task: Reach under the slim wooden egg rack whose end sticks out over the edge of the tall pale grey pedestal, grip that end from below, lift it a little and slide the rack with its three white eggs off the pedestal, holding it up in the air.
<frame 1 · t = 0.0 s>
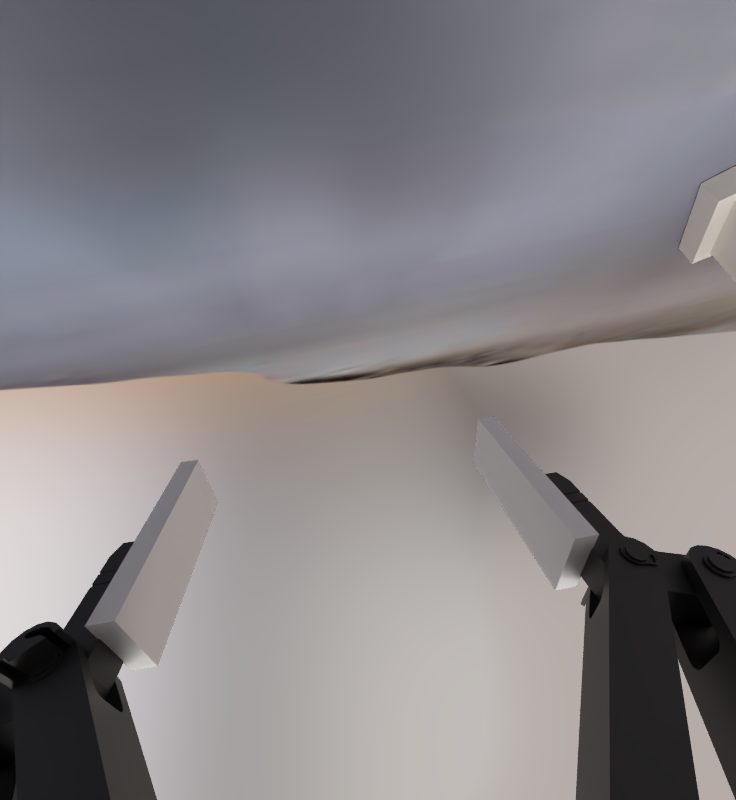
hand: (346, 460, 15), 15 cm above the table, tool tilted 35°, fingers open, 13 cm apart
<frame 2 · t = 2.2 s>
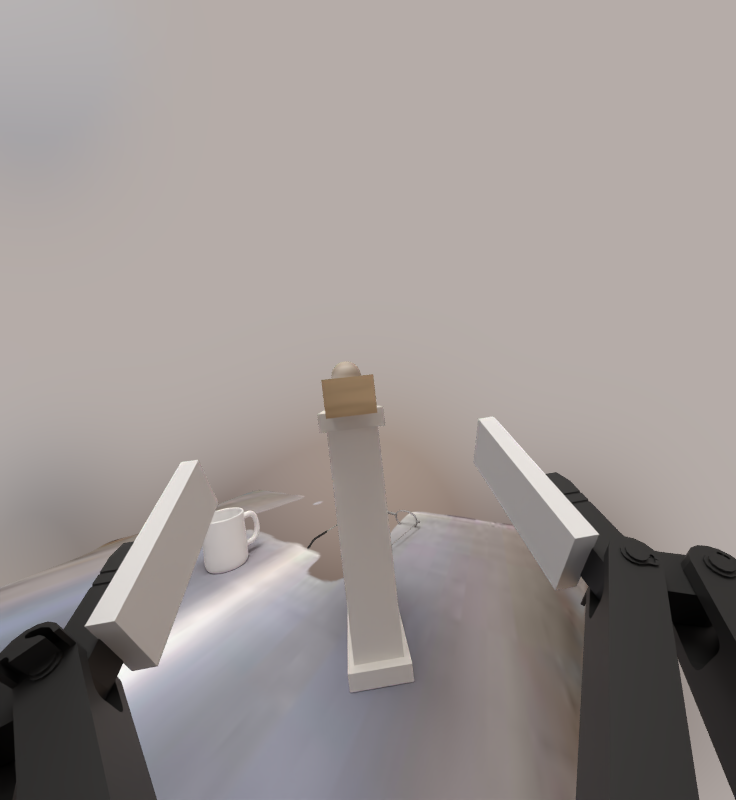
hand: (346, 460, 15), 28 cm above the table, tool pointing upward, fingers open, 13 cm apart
egg rack: (349, 408, 41), point 30 cm above the table, touching pedestal
pedestal: (375, 634, 41), on the table
cup: (236, 559, 66), on the table
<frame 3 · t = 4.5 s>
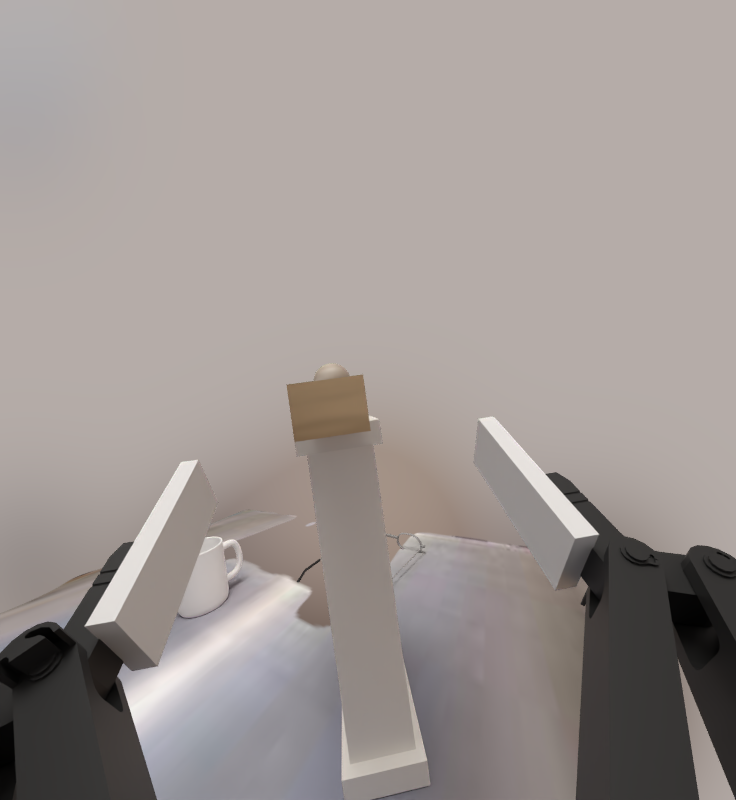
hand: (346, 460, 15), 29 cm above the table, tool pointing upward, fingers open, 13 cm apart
egg rack: (338, 421, 33), point 30 cm above the table, touching pedestal
pedestal: (378, 706, 33), on the table
cup: (215, 598, 57), on the table
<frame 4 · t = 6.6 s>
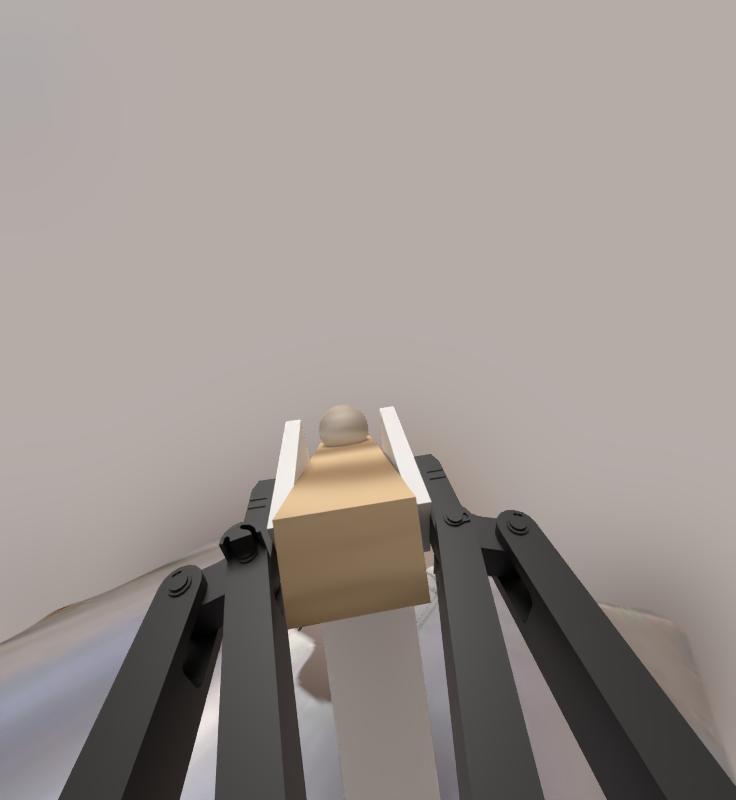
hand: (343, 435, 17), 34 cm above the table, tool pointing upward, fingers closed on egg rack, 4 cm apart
egg rack: (350, 476, 25), point 30 cm above the table, touching gripper, pedestal
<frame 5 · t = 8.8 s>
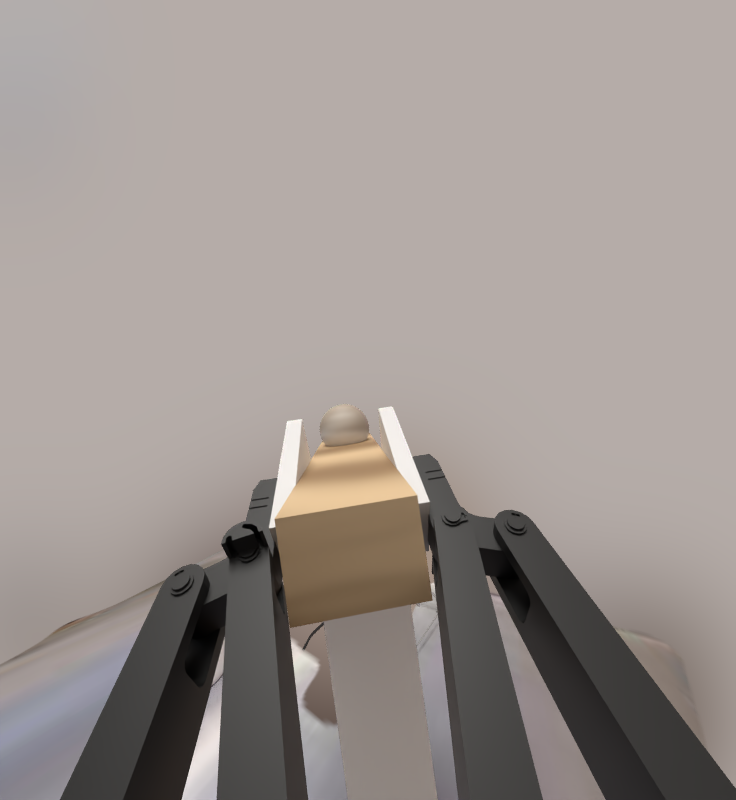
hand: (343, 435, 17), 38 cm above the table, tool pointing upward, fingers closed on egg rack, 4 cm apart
egg rack: (351, 475, 25), point 34 cm above the table, touching gripper
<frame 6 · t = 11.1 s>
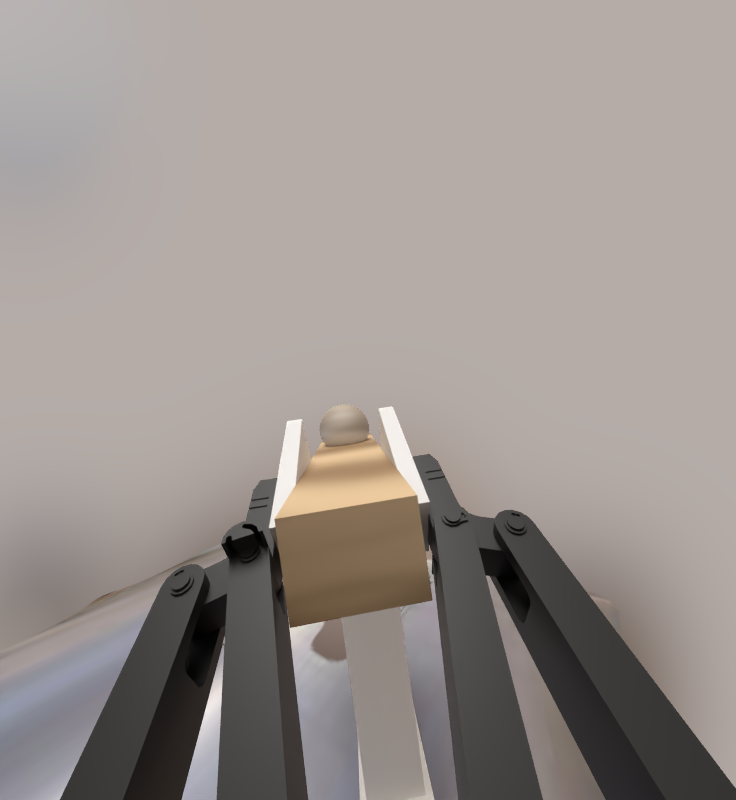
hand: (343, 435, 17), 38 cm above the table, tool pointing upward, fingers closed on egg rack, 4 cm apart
egg rack: (351, 475, 25), point 34 cm above the table, touching gripper
pedestal: (390, 747, 36), on the table
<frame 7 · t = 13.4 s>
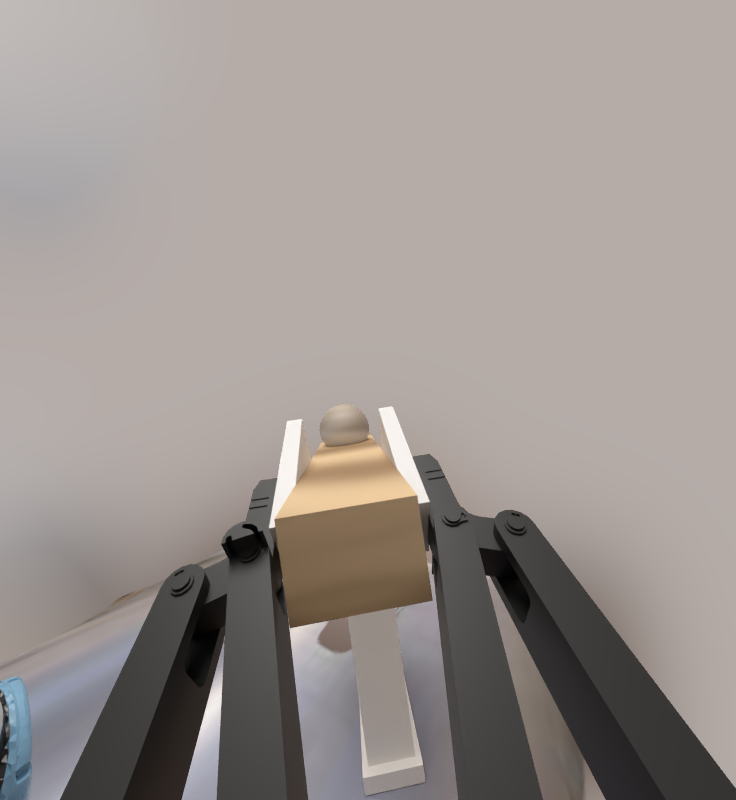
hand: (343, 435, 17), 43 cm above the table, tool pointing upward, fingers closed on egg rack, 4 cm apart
egg rack: (351, 475, 25), point 38 cm above the table, touching gripper
pedestal: (386, 722, 43), on the table
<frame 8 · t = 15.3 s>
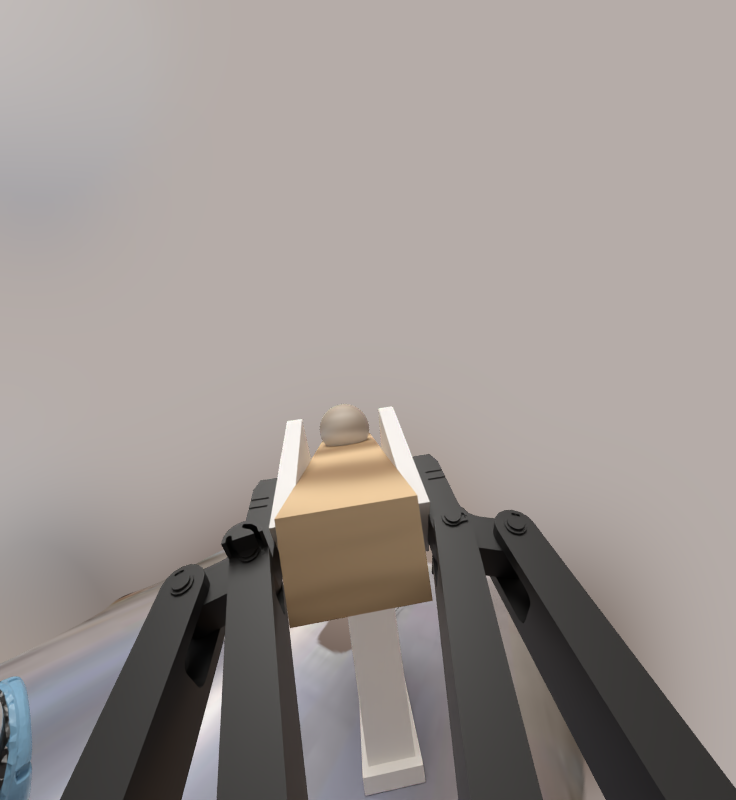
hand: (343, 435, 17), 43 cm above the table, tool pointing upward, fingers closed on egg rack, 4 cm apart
egg rack: (351, 475, 25), point 38 cm above the table, touching gripper
pedestal: (386, 722, 43), on the table
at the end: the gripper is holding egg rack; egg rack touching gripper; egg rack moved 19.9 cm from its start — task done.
